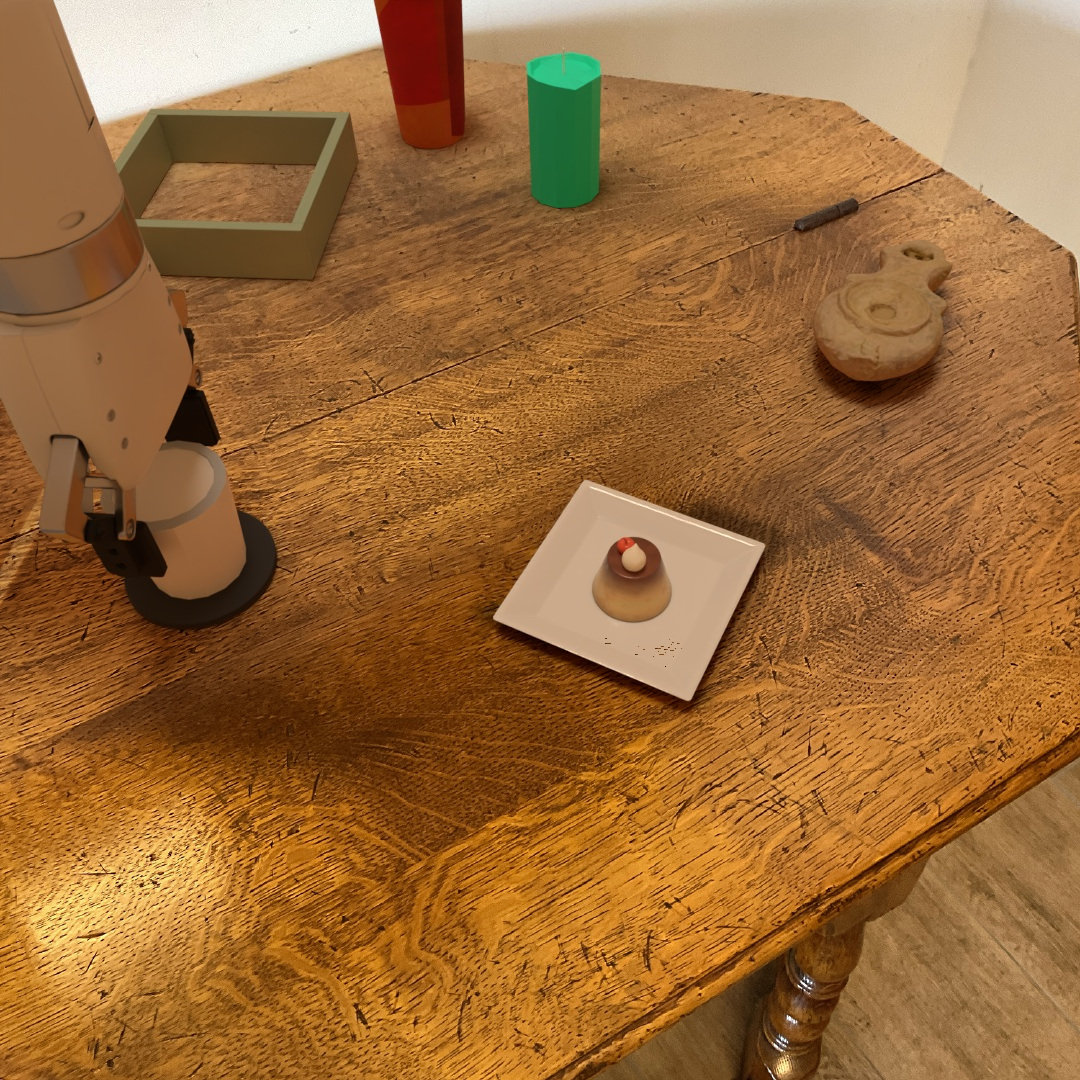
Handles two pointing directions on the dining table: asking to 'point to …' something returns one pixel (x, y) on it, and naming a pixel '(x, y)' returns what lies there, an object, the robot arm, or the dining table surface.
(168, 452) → the beige tapered cylinder
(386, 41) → the coffee cup
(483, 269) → the dining table surface
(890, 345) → the oil lamp
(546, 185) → the candle
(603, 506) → the dessert
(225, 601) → the coaster
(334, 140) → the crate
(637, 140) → the dining table surface
